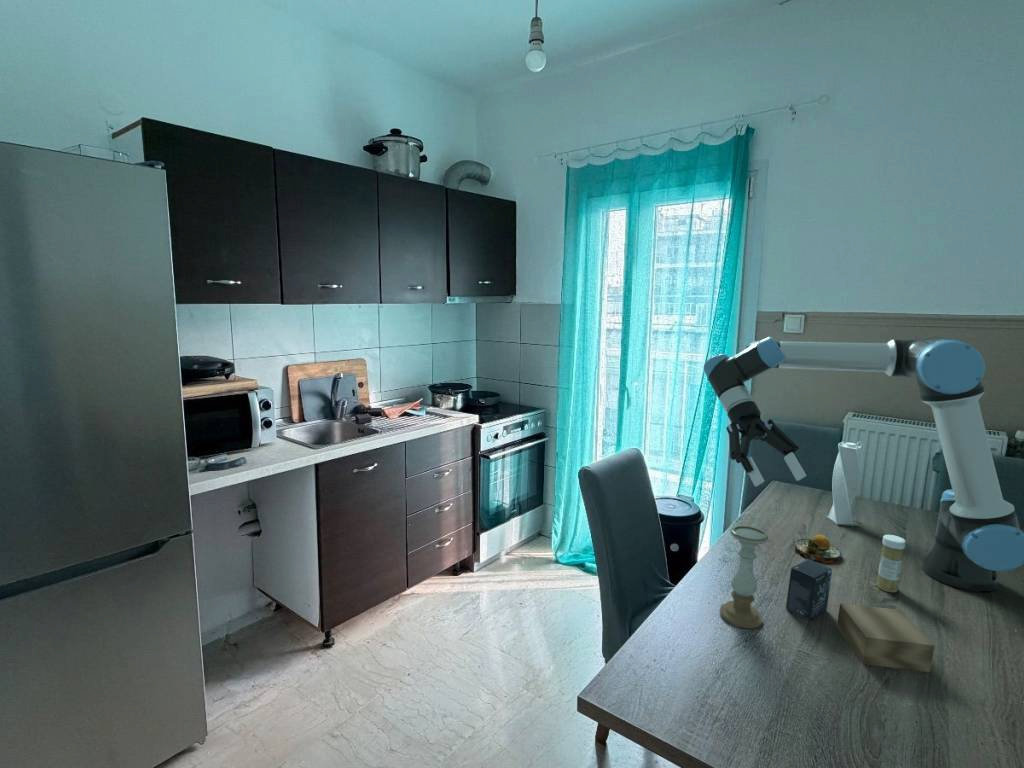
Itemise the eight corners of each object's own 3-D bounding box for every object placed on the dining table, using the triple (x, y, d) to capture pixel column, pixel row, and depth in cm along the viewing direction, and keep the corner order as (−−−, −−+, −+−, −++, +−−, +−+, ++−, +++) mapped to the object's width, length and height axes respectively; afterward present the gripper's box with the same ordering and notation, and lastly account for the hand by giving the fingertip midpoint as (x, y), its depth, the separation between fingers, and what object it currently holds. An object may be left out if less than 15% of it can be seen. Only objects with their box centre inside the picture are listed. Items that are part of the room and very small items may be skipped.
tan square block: (896, 635, 115) (900, 610, 114) (929, 673, 103) (934, 645, 102) (836, 628, 117) (840, 603, 116) (862, 664, 105) (866, 637, 104)
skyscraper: (861, 527, 169) (873, 442, 165) (836, 527, 169) (847, 441, 165) (845, 517, 178) (856, 435, 173) (821, 516, 178) (831, 434, 173)
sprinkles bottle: (884, 582, 136) (891, 532, 134) (902, 591, 132) (910, 540, 130) (871, 585, 135) (878, 535, 133) (889, 594, 131) (897, 543, 128)
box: (809, 621, 119) (815, 577, 117) (785, 608, 124) (790, 566, 122) (827, 610, 123) (833, 568, 121) (803, 599, 128) (808, 557, 126)
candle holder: (759, 610, 122) (769, 527, 119) (764, 632, 114) (774, 544, 111) (719, 602, 125) (726, 521, 122) (720, 623, 117) (728, 537, 114)
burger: (828, 546, 157) (831, 522, 156) (849, 565, 145) (853, 540, 144) (786, 543, 158) (788, 519, 157) (803, 562, 146) (806, 536, 145)
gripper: (766, 412, 147) (807, 482, 136) (694, 417, 138) (731, 493, 127) (785, 397, 141) (829, 469, 130) (710, 401, 132) (751, 479, 121)
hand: (781, 481), depth 128 cm, fingers open, 13 cm apart
